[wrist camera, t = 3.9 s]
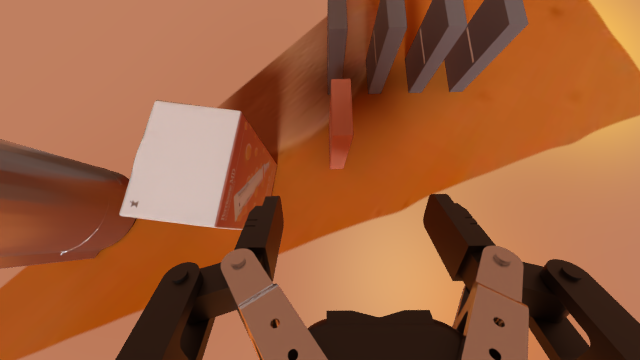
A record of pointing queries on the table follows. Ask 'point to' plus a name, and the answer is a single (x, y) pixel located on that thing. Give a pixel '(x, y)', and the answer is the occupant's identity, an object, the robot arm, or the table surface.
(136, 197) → the small box
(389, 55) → the domino
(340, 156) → the domino
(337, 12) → the domino
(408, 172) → the table surface
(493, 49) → the domino
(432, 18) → the domino
